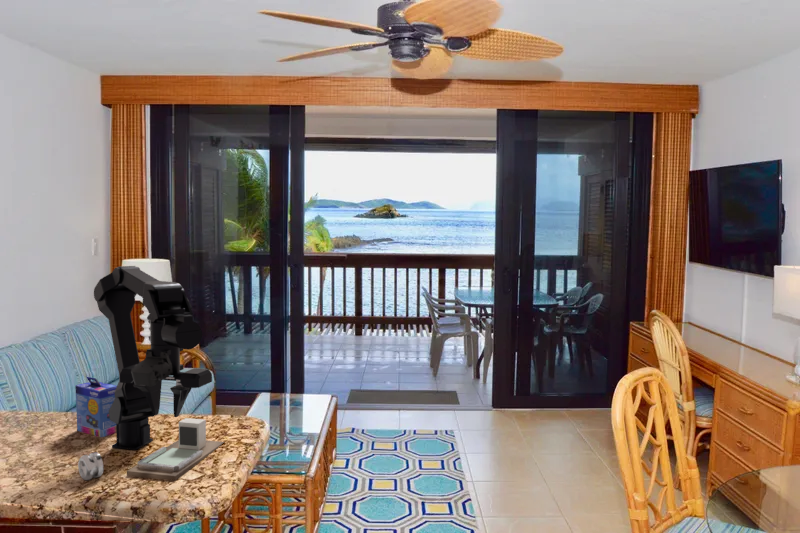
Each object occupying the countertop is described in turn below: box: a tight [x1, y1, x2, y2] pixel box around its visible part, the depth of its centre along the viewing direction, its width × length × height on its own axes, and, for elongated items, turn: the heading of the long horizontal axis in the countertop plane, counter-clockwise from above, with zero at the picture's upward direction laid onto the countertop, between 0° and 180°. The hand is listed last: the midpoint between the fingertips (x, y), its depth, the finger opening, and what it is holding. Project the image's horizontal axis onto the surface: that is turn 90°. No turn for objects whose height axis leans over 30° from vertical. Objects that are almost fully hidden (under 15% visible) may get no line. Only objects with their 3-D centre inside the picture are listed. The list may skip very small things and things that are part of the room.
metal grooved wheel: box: [77, 451, 104, 481], centre depth 122 cm, size 5×3×5 cm, turn 51°
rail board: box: [126, 439, 225, 481], centre depth 131 cm, size 11×20×1 cm, turn 168°
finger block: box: [178, 417, 207, 450], centre depth 136 cm, size 5×3×6 cm
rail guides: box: [137, 446, 202, 472], centre depth 128 cm, size 10×10×1 cm
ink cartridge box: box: [74, 376, 117, 438], centre depth 148 cm, size 10×6×14 cm, turn 61°
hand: (166, 415), depth 127 cm, fingers open, 4 cm apart
